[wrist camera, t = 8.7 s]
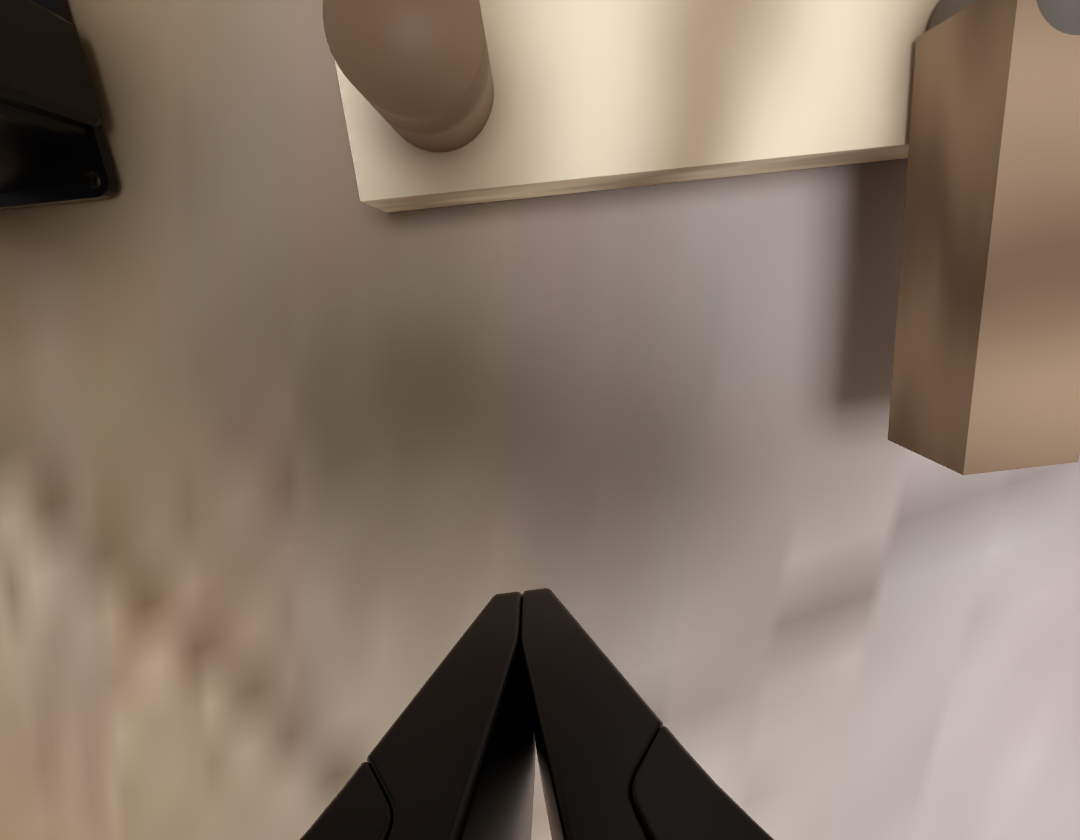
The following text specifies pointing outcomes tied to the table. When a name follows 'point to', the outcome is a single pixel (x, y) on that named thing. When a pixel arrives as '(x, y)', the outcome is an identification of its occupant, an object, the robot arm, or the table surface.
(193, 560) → the table surface
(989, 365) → the hinged leg
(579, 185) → the stool seat
